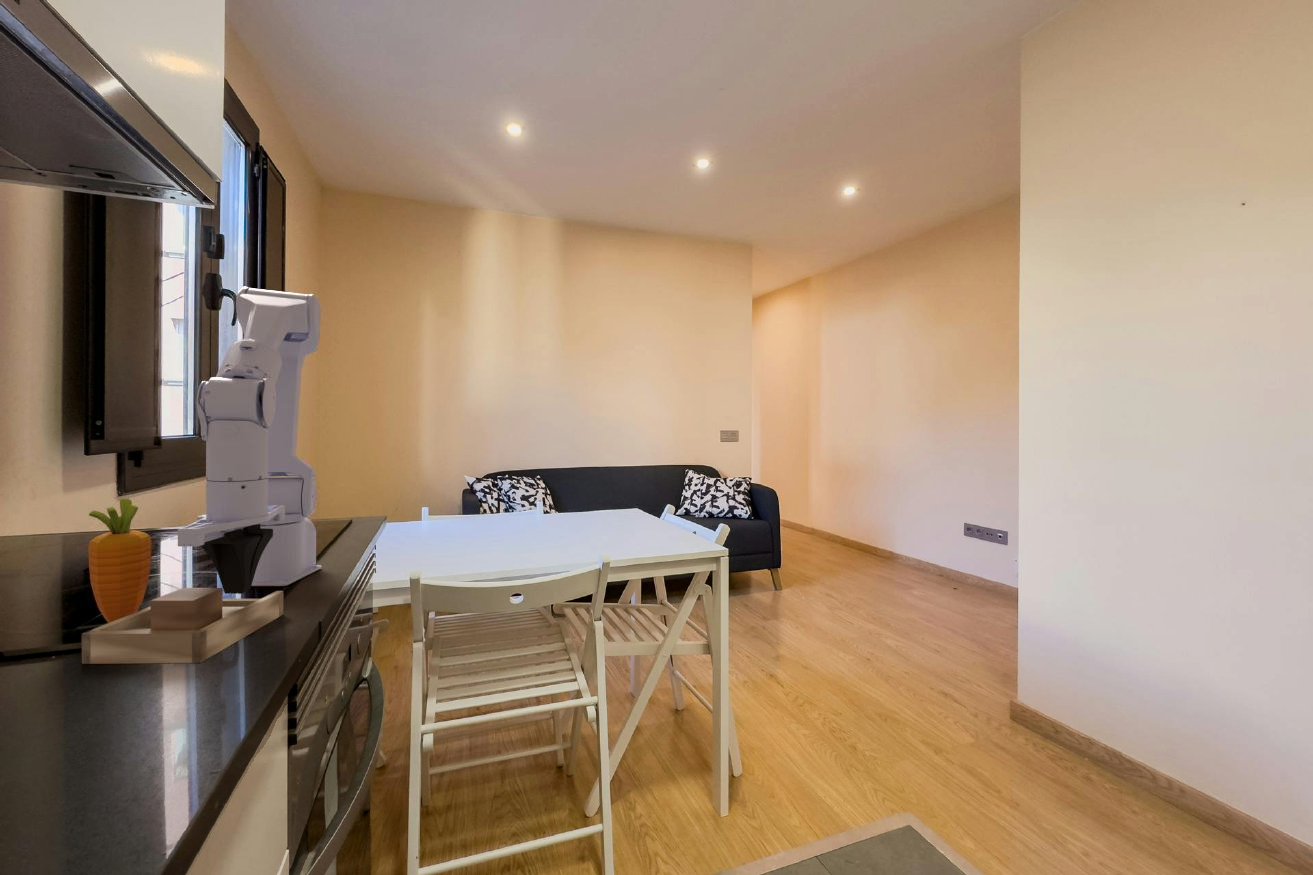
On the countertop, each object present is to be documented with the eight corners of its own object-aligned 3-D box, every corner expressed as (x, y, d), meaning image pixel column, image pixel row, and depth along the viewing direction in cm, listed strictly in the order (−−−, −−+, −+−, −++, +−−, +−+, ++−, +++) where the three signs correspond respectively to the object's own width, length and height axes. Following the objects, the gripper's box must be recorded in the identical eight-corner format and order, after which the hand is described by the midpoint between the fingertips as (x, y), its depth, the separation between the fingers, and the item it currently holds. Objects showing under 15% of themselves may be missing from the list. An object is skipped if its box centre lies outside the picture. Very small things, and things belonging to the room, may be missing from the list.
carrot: (118, 641, 56) (118, 504, 56) (74, 639, 56) (73, 502, 56) (163, 623, 61) (163, 497, 61) (122, 621, 61) (122, 496, 61)
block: (183, 623, 56) (183, 587, 56) (222, 623, 57) (222, 587, 57) (150, 639, 52) (150, 600, 52) (192, 639, 53) (192, 600, 53)
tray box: (189, 614, 64) (189, 590, 64) (283, 614, 65) (283, 590, 65) (81, 663, 51) (81, 633, 51) (200, 662, 52) (200, 633, 52)
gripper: (245, 471, 68) (245, 573, 68) (146, 486, 54) (146, 614, 54) (301, 473, 69) (300, 573, 69) (218, 487, 54) (217, 614, 55)
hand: (237, 591), depth 62 cm, fingers closed
